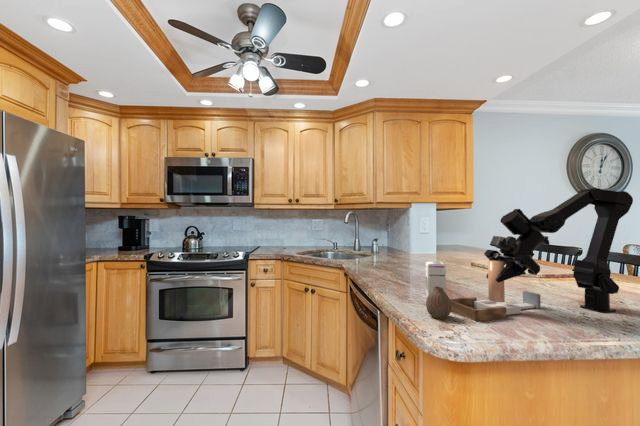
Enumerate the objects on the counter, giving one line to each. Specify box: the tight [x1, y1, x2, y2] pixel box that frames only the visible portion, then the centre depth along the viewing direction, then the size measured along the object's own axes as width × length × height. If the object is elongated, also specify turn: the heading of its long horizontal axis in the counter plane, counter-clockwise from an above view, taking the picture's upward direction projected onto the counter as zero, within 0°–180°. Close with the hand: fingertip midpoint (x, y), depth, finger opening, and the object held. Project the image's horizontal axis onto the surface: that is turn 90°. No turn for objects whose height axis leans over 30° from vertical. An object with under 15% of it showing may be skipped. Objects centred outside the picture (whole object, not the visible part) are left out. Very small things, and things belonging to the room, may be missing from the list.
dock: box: [449, 296, 507, 322], centre depth 88 cm, size 12×12×3 cm
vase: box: [425, 287, 452, 320], centre depth 85 cm, size 7×7×9 cm
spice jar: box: [487, 259, 506, 302], centre depth 91 cm, size 4×4×12 cm
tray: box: [473, 290, 541, 316], centre depth 93 cm, size 20×9×4 cm, turn 106°
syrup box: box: [425, 261, 447, 301], centre depth 96 cm, size 6×6×14 cm
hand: (492, 279), depth 91 cm, fingers closed on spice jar, 4 cm apart
